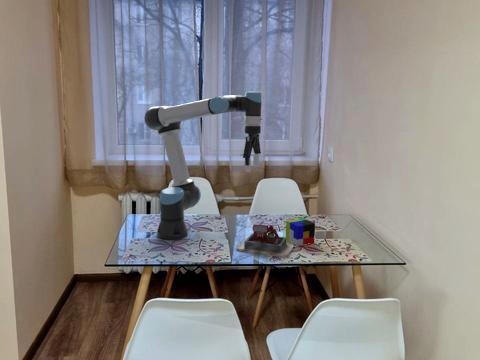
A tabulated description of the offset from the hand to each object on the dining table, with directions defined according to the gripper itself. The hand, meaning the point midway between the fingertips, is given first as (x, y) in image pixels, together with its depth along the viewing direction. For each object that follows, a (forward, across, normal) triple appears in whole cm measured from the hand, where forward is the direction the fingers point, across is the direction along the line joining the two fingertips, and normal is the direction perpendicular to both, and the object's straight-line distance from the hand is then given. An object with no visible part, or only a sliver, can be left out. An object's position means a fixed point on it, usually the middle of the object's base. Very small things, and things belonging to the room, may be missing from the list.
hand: (251, 169), depth 214 cm
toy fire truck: (+34, -12, -11) cm, 37 cm away
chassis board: (+35, -12, -11) cm, 38 cm away
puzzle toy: (+35, +4, -24) cm, 43 cm away
